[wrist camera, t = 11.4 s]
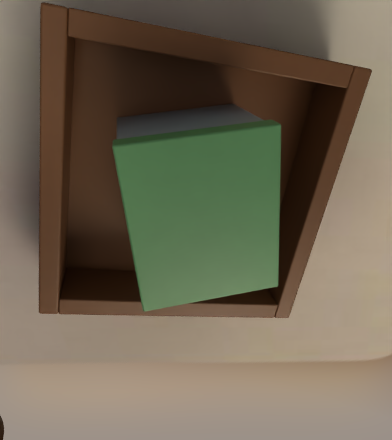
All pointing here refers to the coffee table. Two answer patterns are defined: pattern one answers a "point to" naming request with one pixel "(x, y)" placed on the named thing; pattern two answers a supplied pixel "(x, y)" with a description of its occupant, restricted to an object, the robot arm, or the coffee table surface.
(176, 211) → the container
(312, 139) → the tray
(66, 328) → the coffee table surface
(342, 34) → the coffee table surface
